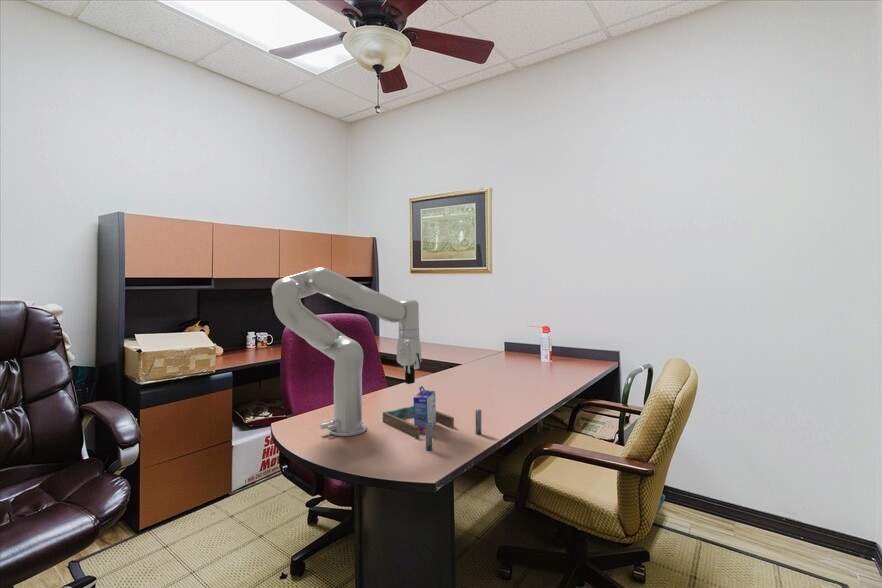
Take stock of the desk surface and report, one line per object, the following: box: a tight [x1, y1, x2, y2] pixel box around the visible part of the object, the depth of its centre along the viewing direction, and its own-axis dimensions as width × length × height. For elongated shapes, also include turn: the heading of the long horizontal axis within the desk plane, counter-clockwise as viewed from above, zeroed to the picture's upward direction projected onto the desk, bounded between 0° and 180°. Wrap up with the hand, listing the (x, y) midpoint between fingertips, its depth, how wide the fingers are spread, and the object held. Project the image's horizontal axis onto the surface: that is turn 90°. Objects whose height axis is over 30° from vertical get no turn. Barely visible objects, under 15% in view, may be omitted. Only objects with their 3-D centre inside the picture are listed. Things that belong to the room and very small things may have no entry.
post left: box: [425, 423, 433, 452], centre depth 128 cm, size 2×2×8 cm
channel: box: [382, 404, 455, 439], centre depth 151 cm, size 16×21×4 cm
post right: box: [475, 409, 482, 436], centre depth 141 cm, size 2×2×8 cm
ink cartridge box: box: [413, 385, 437, 434], centre depth 147 cm, size 10×6×14 cm, turn 164°
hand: (410, 383), depth 155 cm, fingers closed
